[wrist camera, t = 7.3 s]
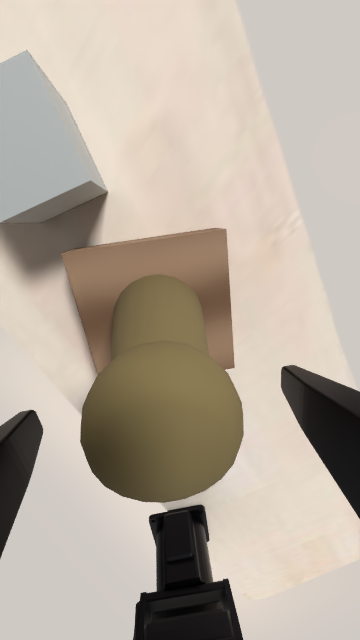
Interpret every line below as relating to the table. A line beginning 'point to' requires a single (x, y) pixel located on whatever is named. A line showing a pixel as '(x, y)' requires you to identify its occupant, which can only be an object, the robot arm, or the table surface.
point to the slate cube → (40, 148)
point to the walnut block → (144, 260)
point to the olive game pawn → (160, 399)
